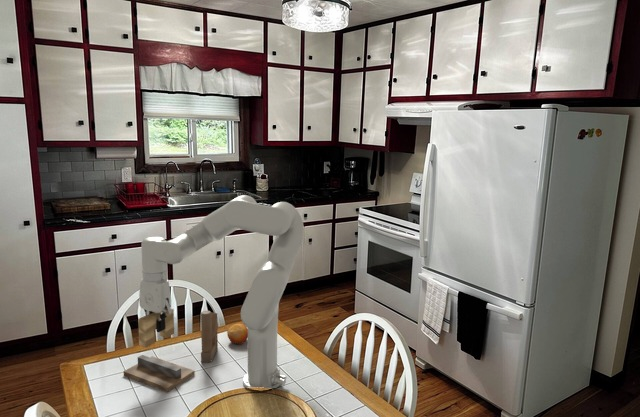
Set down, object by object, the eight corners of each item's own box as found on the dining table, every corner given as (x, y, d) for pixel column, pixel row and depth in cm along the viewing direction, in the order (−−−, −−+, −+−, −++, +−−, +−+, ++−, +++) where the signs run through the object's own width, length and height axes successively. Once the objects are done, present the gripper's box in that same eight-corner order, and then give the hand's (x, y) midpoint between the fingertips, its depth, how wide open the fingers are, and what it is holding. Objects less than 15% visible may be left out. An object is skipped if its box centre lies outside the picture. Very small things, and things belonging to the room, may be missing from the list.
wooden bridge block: (174, 333, 156) (173, 308, 155) (145, 347, 146) (144, 320, 145) (167, 331, 158) (167, 306, 156) (139, 345, 147) (138, 318, 146)
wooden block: (217, 348, 173) (217, 303, 171) (211, 362, 163) (210, 314, 160) (208, 348, 174) (207, 302, 171) (200, 362, 163) (199, 314, 160)
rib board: (194, 374, 155) (194, 362, 154) (167, 392, 144) (166, 378, 143) (152, 360, 164) (151, 348, 163) (123, 375, 153) (123, 362, 153)
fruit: (255, 335, 182) (248, 322, 177) (244, 351, 177) (236, 338, 172) (240, 330, 186) (233, 317, 182) (228, 346, 181) (221, 333, 177)
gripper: (127, 274, 149) (130, 328, 152) (164, 283, 141) (166, 339, 144) (146, 268, 155) (148, 320, 158) (182, 276, 148) (183, 330, 151)
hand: (156, 328), depth 151 cm, fingers closed on wooden bridge block, 3 cm apart
